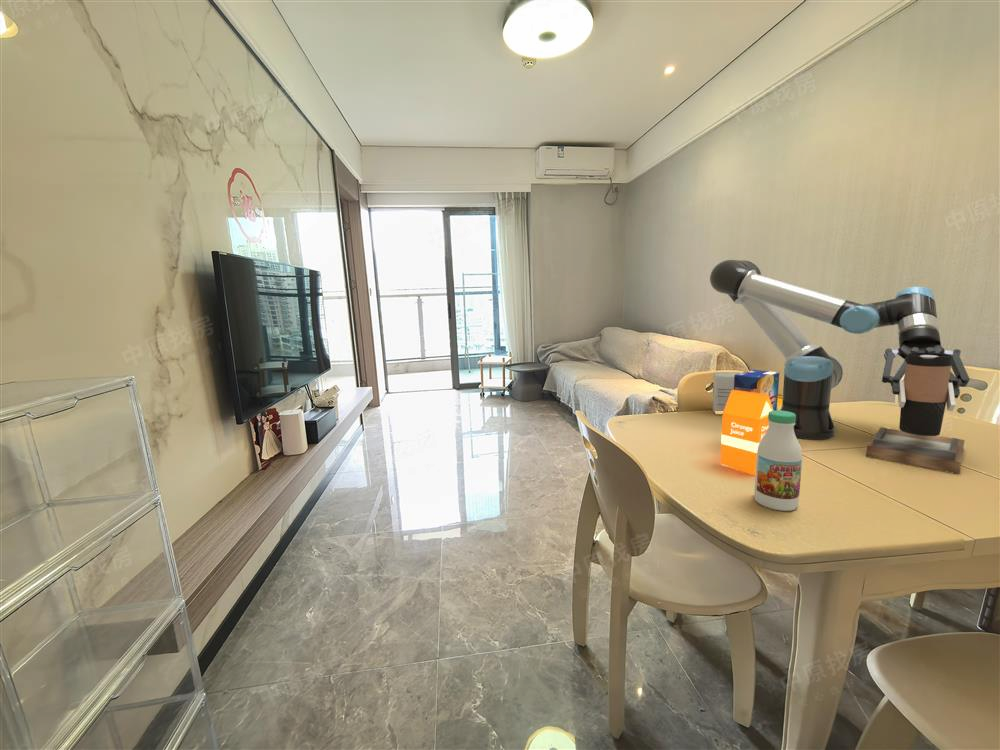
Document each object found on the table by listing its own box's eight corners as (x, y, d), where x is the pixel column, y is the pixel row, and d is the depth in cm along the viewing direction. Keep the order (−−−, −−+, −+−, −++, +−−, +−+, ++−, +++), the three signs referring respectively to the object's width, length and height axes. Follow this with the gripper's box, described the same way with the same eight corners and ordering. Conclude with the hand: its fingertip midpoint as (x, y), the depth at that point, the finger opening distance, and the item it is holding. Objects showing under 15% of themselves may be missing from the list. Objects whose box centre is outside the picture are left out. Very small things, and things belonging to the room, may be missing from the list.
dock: (865, 456, 102) (868, 438, 101) (880, 434, 116) (882, 418, 115) (959, 474, 90) (962, 453, 89) (963, 447, 104) (966, 429, 103)
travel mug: (920, 426, 102) (930, 351, 99) (951, 436, 95) (963, 355, 91) (889, 427, 103) (898, 353, 99) (916, 436, 95) (927, 357, 92)
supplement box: (711, 408, 153) (713, 371, 150) (738, 410, 149) (740, 372, 146) (714, 415, 144) (715, 376, 142) (742, 416, 141) (744, 376, 138)
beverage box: (774, 446, 112) (779, 372, 108) (756, 455, 107) (761, 377, 103) (749, 440, 118) (753, 369, 114) (730, 448, 112) (734, 374, 108)
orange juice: (755, 476, 95) (760, 397, 91) (719, 465, 102) (723, 391, 99) (771, 467, 99) (776, 392, 95) (735, 457, 106) (739, 387, 103)
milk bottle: (745, 495, 86) (750, 409, 82) (778, 492, 86) (784, 406, 83) (772, 513, 78) (779, 419, 75) (808, 510, 79) (816, 416, 75)
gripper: (971, 343, 101) (985, 418, 91) (864, 343, 113) (866, 409, 104) (981, 324, 96) (997, 402, 86) (869, 326, 108) (871, 394, 99)
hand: (926, 406), depth 95 cm, fingers closed on travel mug, 8 cm apart
